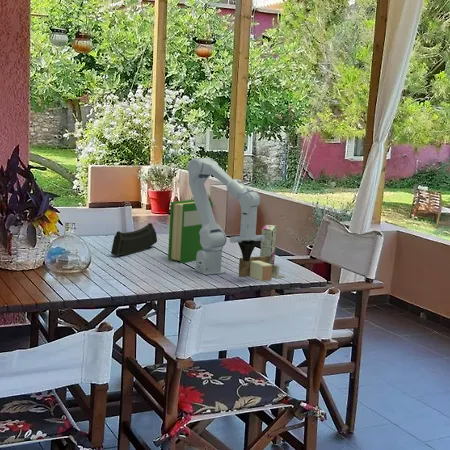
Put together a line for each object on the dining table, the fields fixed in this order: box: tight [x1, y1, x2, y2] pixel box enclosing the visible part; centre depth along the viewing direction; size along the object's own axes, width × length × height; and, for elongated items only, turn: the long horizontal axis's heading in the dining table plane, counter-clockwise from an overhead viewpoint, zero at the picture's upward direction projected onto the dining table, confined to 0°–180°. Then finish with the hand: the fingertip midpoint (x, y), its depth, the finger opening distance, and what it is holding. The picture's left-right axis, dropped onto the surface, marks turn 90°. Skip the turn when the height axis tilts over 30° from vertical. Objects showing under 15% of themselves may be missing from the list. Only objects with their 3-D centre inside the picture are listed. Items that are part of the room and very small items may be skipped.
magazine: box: [110, 222, 158, 256], centre depth 290 cm, size 17×3×30 cm
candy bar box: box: [259, 224, 277, 265], centre depth 277 cm, size 11×5×16 cm, turn 168°
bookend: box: [268, 263, 286, 279], centre depth 263 cm, size 4×7×4 cm, turn 35°
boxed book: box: [249, 260, 272, 282], centre depth 257 cm, size 4×8×6 cm, turn 35°
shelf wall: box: [238, 255, 270, 278], centre depth 262 cm, size 14×1×7 cm, turn 125°
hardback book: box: [167, 199, 213, 264], centre depth 282 cm, size 18×7×24 cm, turn 143°
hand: (246, 260), depth 253 cm, fingers closed
